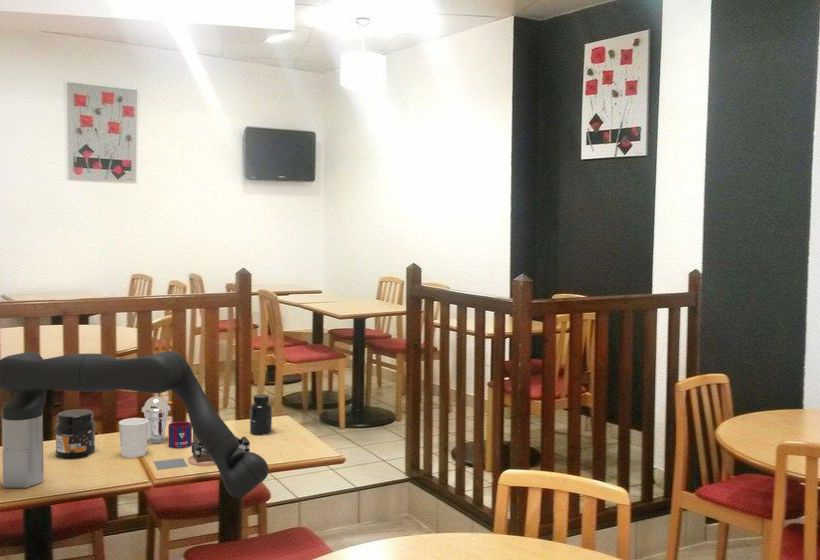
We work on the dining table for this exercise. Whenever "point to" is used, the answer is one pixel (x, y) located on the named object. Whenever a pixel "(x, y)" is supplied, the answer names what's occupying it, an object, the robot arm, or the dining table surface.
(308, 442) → the dining table surface
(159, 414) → the cup with straw
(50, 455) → the dining table surface
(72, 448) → the supplement container
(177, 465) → the coaster
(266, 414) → the supplement bottle
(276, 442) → the dining table surface
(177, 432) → the mug
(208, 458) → the tall wooden block
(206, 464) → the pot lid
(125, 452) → the white cup
